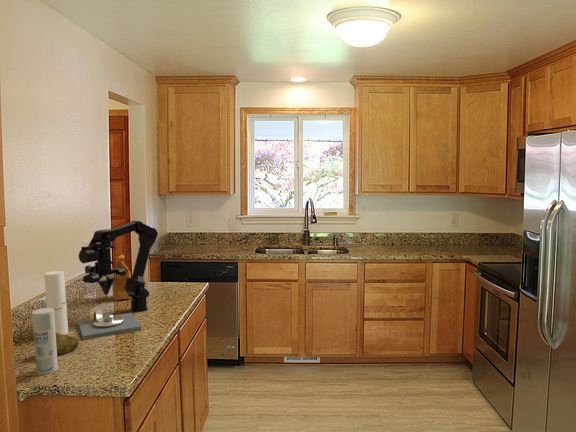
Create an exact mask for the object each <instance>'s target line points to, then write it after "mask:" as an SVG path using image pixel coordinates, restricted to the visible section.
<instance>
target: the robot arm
mask: <svg viewBox="0 0 576 432" xmlns="http://www.w3.org/2000/svg"><path fill="white" fill-rule="evenodd" d="M132 232H134V233H135V234H137V235H138V239H137V240H138V242H139V246H138V247H139V248H138V252H137V254H136V255H137V256H136V260H135V262H134V263H135V264H134V268H133V271H132V275H131V277H130V278H127V279H126V284H125V286H126V287H125V291H126V292H127V293H128V296H129V297H131V298H130V299H131V300H129V303H130V310H131V311H132V312H133V313H137V312H143V311H148V310H149V309H148V308H147V307H148V305H147V298H149V297H150V291H149V290H148V289H147V288H145V287H146V282H145V278H144V275H145V272H146V268H147V264H148V260H149V255H150V251H151V247H152V246H153V245H154V244H155V242H156V240H157V238H158V235H159V233H158V230H157V229H156V228H155V227H151V226H150V225H147V224H145V223H143V221H141V220H132V221H130V222H126V223H124V224H122V225H119V226H116V227H113V228H108V229H99V230H95V231H94V232H93V237H92V239H91V240H90V242H89V244H88V246H81V247H80V248H81V250H80V251H79V252H78V260H79V261H80V263H81V264H87V263H92V262H94V265H93V266H91V264H89V265H86V266H85V267H84V272H85V275H84V276H83V277H82V283H86V284H95V283H98V284H99V286H100V287H101V290H102V292H103V294H104V295H105V296H107V295H109V292H110V291H111V289H112V284H113V282H114V280H115V279H116V278H114V275H117V274H119V275H120V276H123V275H126V271H125V269H124V268H115V267H114V268H112V264H114V260H112V250H111V249H115V248H116V246H115V245H114V244H112V242H115V240H116V239H117V238H119V237H122V236H126V234H130V233H132Z"/></svg>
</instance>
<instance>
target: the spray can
mask: <svg viewBox="0 0 576 432" xmlns="http://www.w3.org/2000/svg"><path fill="white" fill-rule="evenodd" d="M31 320H32V322H31V323H32V333H33V344H34V345H33V346H34V353H35V354H34V355H35V356H34V357H35V367H36V372H37V374H39V375H47V374H51V373H54V372H56V371H57V370H58V367H59V366H58V365H59V364H58V362H59V361H58V354H57V348H56V333H55V318H54V309H52V308H47V307H45V308H39V309H36V310H33V311H32V312H31Z"/></svg>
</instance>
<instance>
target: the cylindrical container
mask: <svg viewBox="0 0 576 432" xmlns="http://www.w3.org/2000/svg"><path fill="white" fill-rule="evenodd" d="M43 274H44V276H43V277H44V289H45V290H44V291H45V299H46V301H45V302H46V308H52V309H54V318H55V332H56V333H59V334H63V335H67V334H69V323H68V308H67V307H68V306H67V298H66V297H67V296H66V282H65V280H66V279H65V271H63V270H53V271H52V270H51V271H47V272H44V273H43Z"/></svg>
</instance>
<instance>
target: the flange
mask: <svg viewBox="0 0 576 432" xmlns="http://www.w3.org/2000/svg"><path fill="white" fill-rule="evenodd" d="M90 312H94V322H93V325H94V326H96V327H111V326H116V325H119V324H121V323H123V322H124V318H123V317H121V316H114V315H115V314H113V313H107V314H103V309H102V308H96V307H94V308H92V309H90V310H89V313H90Z"/></svg>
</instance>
